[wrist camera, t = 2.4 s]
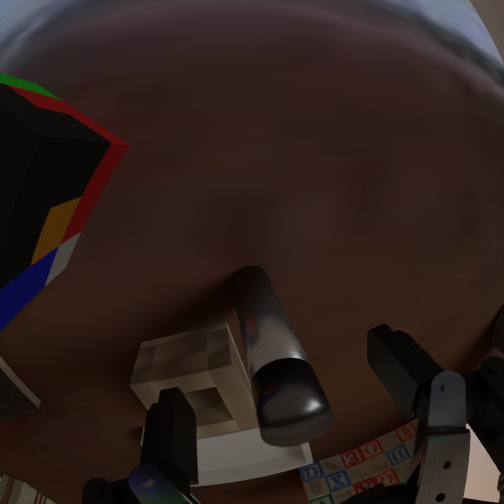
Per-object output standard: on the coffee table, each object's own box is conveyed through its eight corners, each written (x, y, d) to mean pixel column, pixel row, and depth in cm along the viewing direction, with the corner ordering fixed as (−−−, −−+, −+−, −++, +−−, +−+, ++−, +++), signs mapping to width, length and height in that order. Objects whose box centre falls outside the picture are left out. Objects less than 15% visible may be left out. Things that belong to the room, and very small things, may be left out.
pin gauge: (264, 260, 19) (332, 395, 8) (273, 293, 20) (335, 432, 8) (227, 271, 19) (252, 419, 7) (237, 303, 20) (269, 453, 8)
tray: (294, 395, 24) (302, 415, 21) (308, 447, 28) (313, 463, 25) (143, 425, 23) (140, 444, 21) (188, 471, 27) (188, 486, 25)
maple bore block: (226, 320, 20) (231, 365, 15) (250, 381, 23) (258, 425, 18) (142, 341, 20) (128, 385, 15) (176, 397, 22) (173, 440, 18)
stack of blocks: (300, 478, 32) (319, 539, 20) (297, 465, 30) (319, 534, 18) (417, 430, 33) (449, 478, 22) (426, 411, 31) (463, 463, 20)
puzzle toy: (66, 267, 17) (-12, 345, 8) (-13, 199, 14) (-98, 233, 5) (130, 145, 15) (41, 136, 6) (37, 84, 12) (-55, 59, 3)
